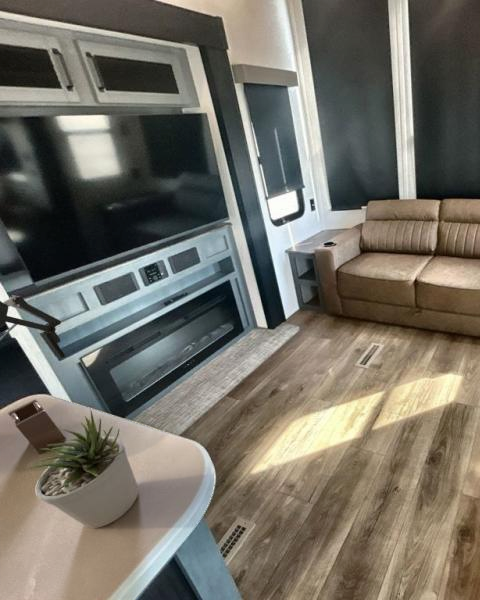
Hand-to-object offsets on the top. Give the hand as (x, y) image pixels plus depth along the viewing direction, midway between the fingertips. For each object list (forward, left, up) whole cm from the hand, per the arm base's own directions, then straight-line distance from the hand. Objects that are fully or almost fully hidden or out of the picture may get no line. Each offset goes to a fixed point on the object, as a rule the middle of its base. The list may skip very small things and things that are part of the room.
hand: (26, 375), depth 80 cm
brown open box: (0, -4, -18) cm, 18 cm away
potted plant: (+30, +16, -18) cm, 38 cm away
